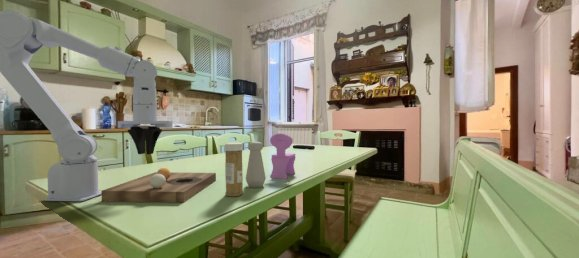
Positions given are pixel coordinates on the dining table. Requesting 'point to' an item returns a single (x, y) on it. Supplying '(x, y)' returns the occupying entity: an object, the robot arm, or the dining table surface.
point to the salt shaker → (255, 166)
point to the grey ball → (157, 181)
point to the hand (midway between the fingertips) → (145, 153)
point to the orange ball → (164, 172)
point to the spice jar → (233, 169)
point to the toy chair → (282, 156)
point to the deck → (173, 190)
